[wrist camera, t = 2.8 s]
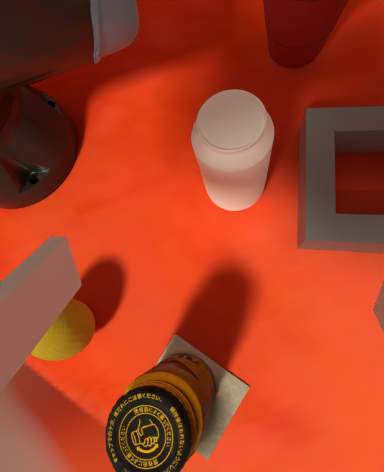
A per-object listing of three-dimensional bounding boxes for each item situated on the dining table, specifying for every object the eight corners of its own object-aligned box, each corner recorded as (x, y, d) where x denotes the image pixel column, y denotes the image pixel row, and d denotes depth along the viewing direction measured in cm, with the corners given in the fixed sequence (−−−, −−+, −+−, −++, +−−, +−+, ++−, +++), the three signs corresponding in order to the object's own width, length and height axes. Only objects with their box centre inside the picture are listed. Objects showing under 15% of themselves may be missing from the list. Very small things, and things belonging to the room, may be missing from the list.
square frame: (297, 248, 30) (305, 240, 26) (298, 131, 32) (306, 107, 29) (445, 256, 27) (478, 248, 23) (433, 129, 30) (461, 103, 26)
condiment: (175, 333, 30) (133, 350, 18) (249, 386, 28) (254, 444, 16) (135, 398, 29) (63, 459, 18) (207, 458, 27) (181, 573, 15)
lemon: (50, 338, 32) (-11, 348, 24) (74, 290, 33) (22, 285, 25) (93, 362, 30) (42, 381, 23) (117, 311, 31) (76, 313, 24)
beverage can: (195, 195, 33) (170, 135, 21) (226, 150, 33) (218, 68, 22) (244, 224, 31) (245, 175, 20) (275, 176, 32) (294, 102, 20)
